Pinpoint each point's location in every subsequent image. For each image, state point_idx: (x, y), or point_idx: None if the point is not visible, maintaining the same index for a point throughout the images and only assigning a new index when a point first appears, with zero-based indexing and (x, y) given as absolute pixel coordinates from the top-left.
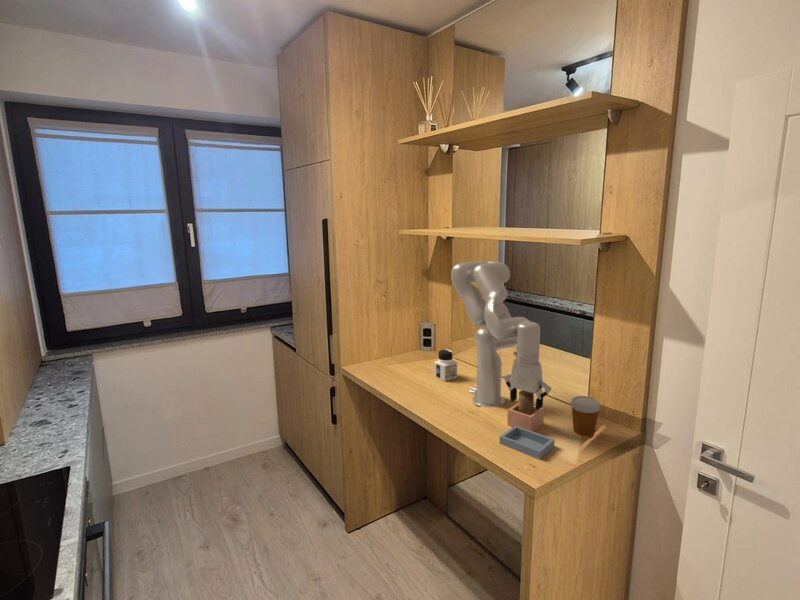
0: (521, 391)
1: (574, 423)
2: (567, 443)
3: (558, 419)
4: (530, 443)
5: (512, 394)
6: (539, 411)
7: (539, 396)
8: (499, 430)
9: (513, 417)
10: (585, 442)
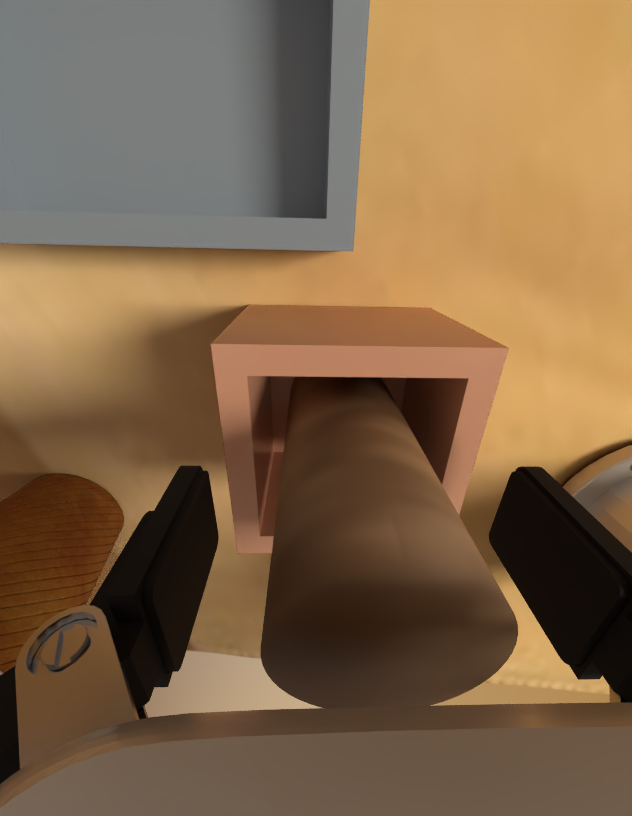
0: (483, 655)
1: (45, 529)
2: (46, 376)
3: (245, 555)
4: (153, 146)
5: (588, 543)
6: (231, 496)
7: (65, 669)
8: (467, 230)
9: (412, 328)
10: (2, 446)
